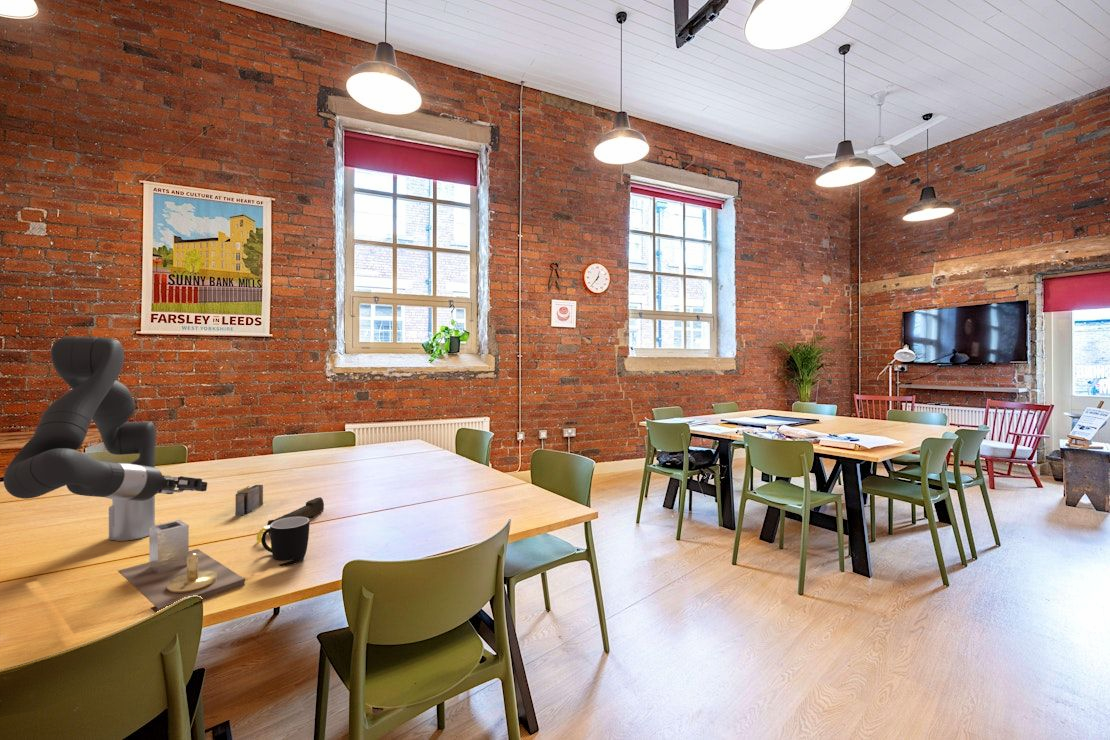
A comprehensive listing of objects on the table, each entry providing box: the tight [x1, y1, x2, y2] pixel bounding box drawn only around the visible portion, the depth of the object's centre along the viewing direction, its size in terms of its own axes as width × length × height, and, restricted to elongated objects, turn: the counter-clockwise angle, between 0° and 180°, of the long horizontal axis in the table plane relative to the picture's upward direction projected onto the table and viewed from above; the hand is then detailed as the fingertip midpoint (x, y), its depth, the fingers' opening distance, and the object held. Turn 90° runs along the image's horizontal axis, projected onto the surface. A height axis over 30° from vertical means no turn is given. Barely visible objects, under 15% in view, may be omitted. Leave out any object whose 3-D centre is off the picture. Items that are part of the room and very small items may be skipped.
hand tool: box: [266, 497, 325, 535], centre depth 151 cm, size 23×5×6 cm, turn 167°
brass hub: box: [167, 553, 217, 594], centre depth 107 cm, size 9×9×7 cm
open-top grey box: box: [148, 519, 190, 574], centre depth 115 cm, size 6×6×10 cm
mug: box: [261, 517, 310, 566], centre depth 123 cm, size 12×9×10 cm
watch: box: [256, 524, 271, 548], centre depth 131 cm, size 6×3×6 cm, turn 85°
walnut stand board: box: [117, 548, 246, 613], centre depth 111 cm, size 28×16×10 cm, turn 55°
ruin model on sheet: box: [235, 484, 264, 516], centre depth 161 cm, size 11×3×10 cm, turn 3°
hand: (189, 488), depth 117 cm, fingers open, 8 cm apart
